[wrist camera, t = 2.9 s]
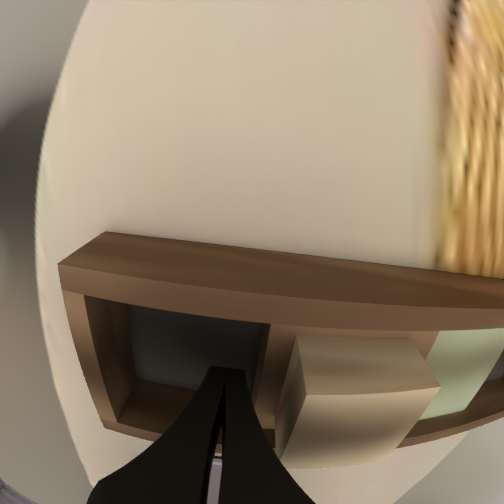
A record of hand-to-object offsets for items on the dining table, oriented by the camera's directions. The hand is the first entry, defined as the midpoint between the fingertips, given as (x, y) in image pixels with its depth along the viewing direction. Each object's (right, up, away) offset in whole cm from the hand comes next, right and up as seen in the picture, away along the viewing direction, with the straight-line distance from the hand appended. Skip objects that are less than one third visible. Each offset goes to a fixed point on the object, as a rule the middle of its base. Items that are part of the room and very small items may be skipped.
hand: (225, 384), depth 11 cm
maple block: (+5, 0, +1) cm, 5 cm away
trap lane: (+8, 0, +3) cm, 9 cm away
